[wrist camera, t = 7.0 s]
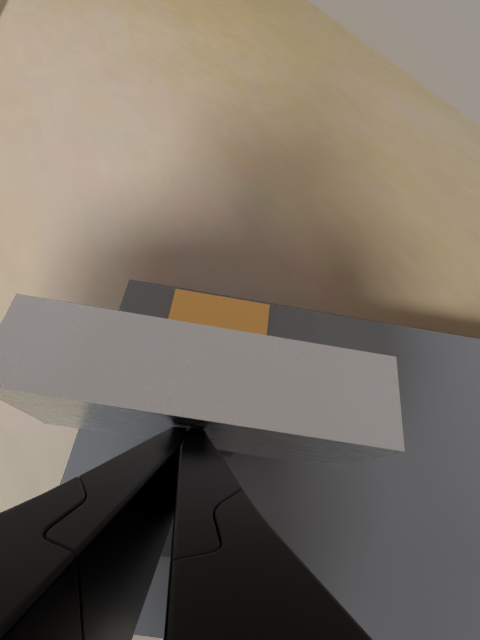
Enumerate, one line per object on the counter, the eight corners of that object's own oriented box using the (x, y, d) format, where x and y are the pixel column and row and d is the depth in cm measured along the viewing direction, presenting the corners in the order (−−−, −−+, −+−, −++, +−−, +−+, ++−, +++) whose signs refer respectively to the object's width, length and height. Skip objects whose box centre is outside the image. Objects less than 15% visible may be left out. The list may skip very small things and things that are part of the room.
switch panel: (726, 688, 16) (843, 730, 13) (47, 597, 14) (12, 620, 12) (609, 386, 22) (669, 369, 19) (138, 307, 21) (128, 277, 18)
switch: (312, 474, 15) (404, 451, 8) (73, 437, 14) (-30, 383, 8) (313, 417, 16) (396, 356, 9) (92, 381, 15) (16, 293, 9)
